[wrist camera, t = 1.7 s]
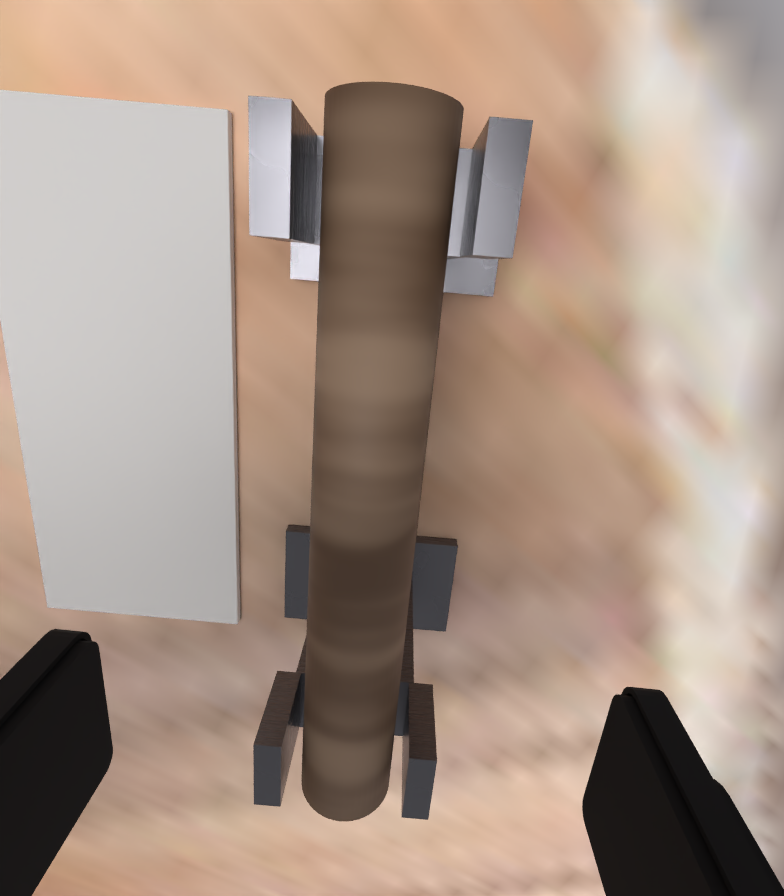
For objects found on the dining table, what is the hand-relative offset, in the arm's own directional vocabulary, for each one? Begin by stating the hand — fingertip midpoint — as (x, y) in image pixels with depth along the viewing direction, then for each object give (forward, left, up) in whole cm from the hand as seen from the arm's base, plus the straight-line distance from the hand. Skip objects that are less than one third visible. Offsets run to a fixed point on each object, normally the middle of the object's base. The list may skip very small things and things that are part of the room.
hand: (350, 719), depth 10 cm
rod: (0, 0, -10) cm, 10 cm away
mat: (0, +14, -20) cm, 25 cm away
